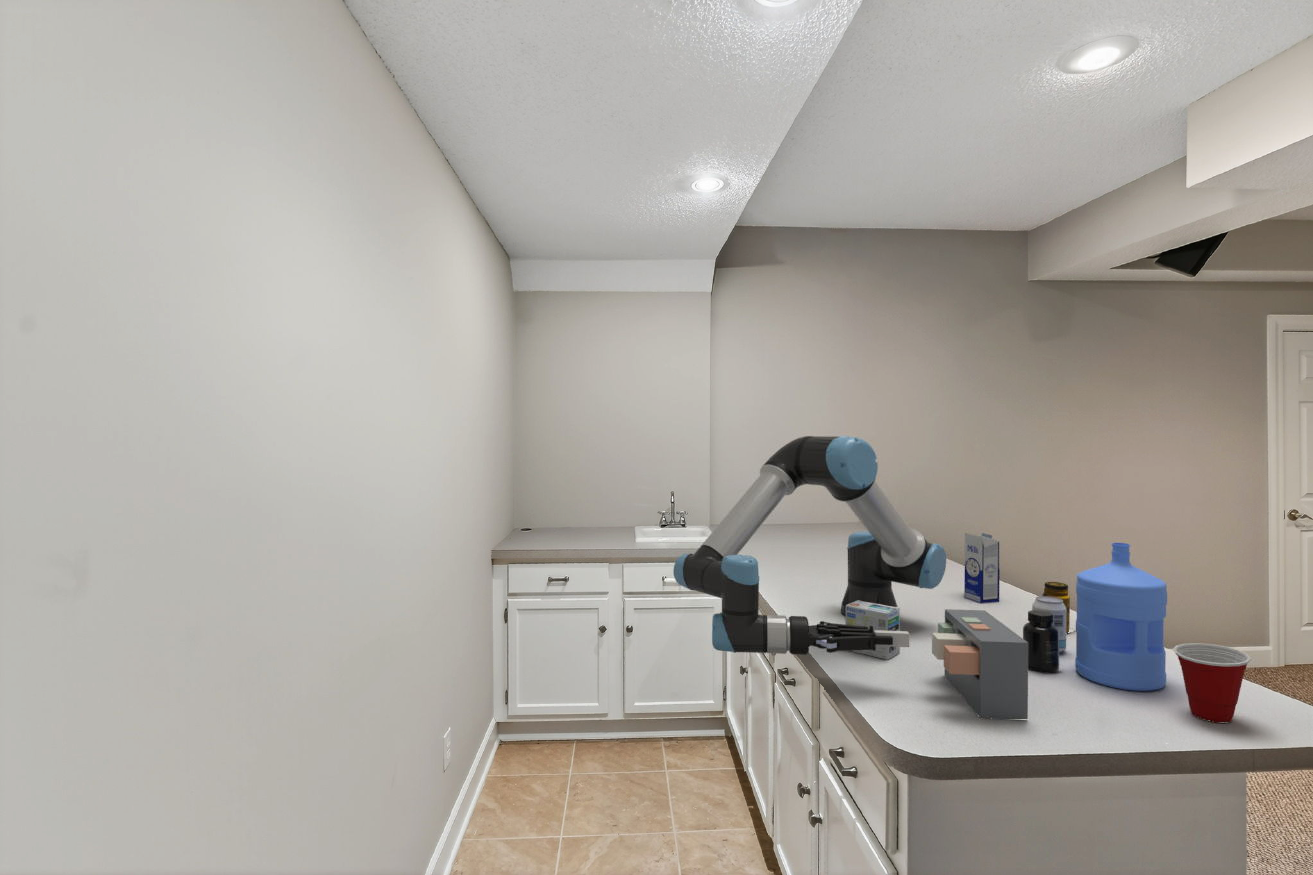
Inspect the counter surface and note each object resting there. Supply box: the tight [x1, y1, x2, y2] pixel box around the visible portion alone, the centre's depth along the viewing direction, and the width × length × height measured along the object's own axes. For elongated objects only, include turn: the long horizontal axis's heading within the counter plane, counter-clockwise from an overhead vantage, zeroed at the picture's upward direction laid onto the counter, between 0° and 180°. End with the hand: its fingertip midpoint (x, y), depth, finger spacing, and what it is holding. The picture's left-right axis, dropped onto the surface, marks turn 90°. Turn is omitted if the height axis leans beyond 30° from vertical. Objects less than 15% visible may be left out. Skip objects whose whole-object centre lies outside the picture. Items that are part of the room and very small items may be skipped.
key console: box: [943, 608, 1029, 720], centre depth 132 cm, size 8×21×14 cm, turn 174°
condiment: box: [1042, 581, 1076, 633], centre depth 173 cm, size 7×8×12 cm
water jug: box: [1074, 542, 1168, 692], centre depth 141 cm, size 16×16×28 cm
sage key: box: [937, 622, 953, 634], centre depth 139 cm, size 7×4×4 cm, turn 84°
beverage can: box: [1031, 595, 1067, 654], centre depth 158 cm, size 7×7×12 cm
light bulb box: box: [845, 600, 901, 661], centre depth 158 cm, size 11×7×11 cm, turn 48°
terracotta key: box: [943, 645, 980, 675], centre depth 125 cm, size 7×4×4 cm, turn 84°
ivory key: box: [931, 632, 966, 661], centre depth 132 cm, size 7×4×4 cm, turn 84°
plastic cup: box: [1172, 642, 1252, 723], centre depth 122 cm, size 11×11×12 cm
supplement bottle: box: [1022, 609, 1060, 674], centre depth 147 cm, size 7×7×12 cm
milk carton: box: [963, 532, 1001, 605], centre depth 203 cm, size 7×7×20 cm
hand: (908, 639), depth 135 cm, fingers closed
